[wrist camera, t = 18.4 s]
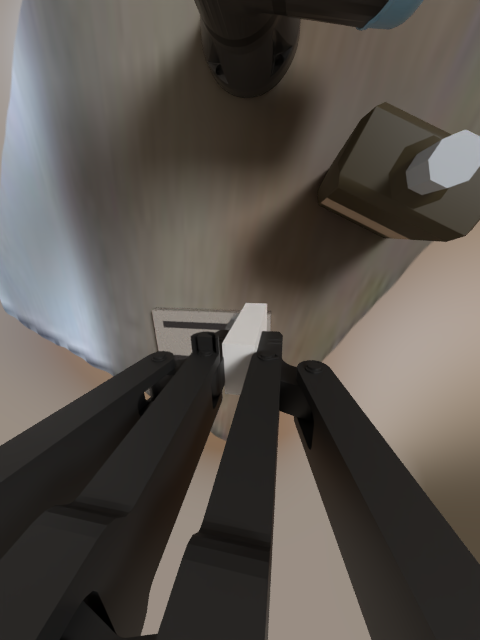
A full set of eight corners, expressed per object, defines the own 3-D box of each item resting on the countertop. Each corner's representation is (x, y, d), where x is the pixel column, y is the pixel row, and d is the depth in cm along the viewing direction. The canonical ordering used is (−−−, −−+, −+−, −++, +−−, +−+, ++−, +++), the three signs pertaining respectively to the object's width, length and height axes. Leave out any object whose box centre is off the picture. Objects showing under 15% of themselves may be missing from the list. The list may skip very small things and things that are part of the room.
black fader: (230, 319, 52) (225, 327, 48) (244, 319, 52) (239, 328, 47) (231, 335, 54) (226, 345, 49) (244, 336, 53) (240, 346, 48)
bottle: (336, 154, 40) (400, 53, 17) (419, 196, 40) (596, 149, 17) (311, 202, 43) (338, 169, 21) (388, 241, 43) (503, 251, 20)
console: (156, 307, 57) (151, 310, 55) (271, 311, 52) (270, 314, 50) (164, 361, 63) (160, 365, 61) (269, 369, 57) (269, 374, 55)
